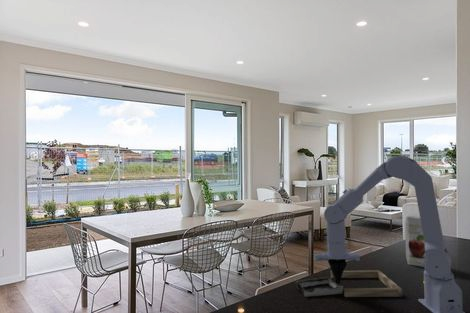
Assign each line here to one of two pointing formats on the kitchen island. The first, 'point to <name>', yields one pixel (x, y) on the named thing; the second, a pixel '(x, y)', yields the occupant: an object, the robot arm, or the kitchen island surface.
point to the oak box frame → (391, 291)
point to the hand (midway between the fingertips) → (337, 282)
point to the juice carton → (414, 241)
